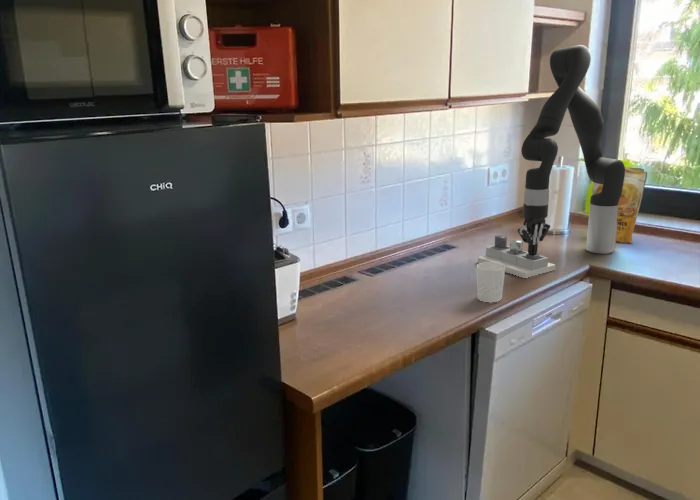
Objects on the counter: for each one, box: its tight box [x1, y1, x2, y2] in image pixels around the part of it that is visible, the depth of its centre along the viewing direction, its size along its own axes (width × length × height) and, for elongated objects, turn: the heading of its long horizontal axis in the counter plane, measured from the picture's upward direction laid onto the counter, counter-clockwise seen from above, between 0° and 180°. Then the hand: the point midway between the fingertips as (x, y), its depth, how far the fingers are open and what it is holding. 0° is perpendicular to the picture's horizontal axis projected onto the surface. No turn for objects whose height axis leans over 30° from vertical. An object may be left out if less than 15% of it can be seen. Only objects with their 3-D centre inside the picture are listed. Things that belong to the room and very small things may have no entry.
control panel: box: [477, 244, 556, 279], centre depth 192 cm, size 14×21×5 cm, turn 32°
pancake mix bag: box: [591, 166, 648, 244], centre depth 219 cm, size 7×19×28 cm, turn 44°
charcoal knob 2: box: [526, 253, 540, 260], centre depth 186 cm, size 4×4×4 cm
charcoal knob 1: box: [494, 234, 508, 248], centre depth 197 cm, size 4×4×4 cm
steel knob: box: [509, 238, 524, 253], centre depth 191 cm, size 4×4×4 cm
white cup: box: [476, 262, 506, 303], centre depth 164 cm, size 8×8×10 cm
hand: (532, 254), depth 186 cm, fingers closed
